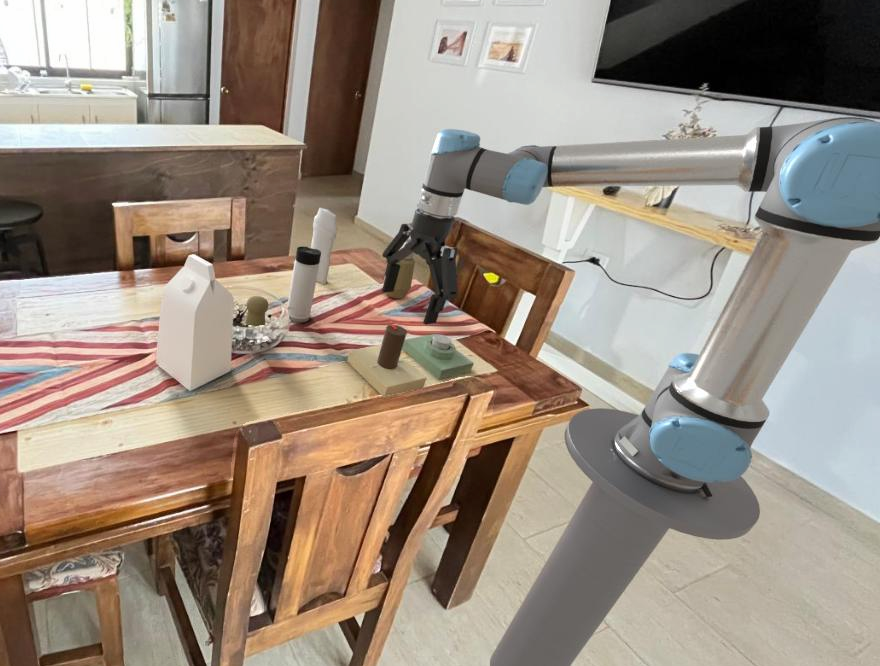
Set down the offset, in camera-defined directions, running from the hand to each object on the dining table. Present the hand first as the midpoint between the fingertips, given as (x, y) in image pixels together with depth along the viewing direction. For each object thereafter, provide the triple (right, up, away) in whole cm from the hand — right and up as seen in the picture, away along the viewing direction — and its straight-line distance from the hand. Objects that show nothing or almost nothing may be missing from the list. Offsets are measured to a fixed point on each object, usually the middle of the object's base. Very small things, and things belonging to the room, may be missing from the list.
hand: (407, 306), depth 110 cm
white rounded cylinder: (-12, +7, +50) cm, 52 cm away
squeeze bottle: (+11, +2, +45) cm, 46 cm away
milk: (-46, -14, +3) cm, 48 cm away
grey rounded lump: (+12, -10, +13) cm, 21 cm away
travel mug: (-21, -4, +27) cm, 34 cm away
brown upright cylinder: (-3, -13, +6) cm, 15 cm away
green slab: (+12, -14, +15) cm, 24 cm away
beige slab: (-3, -16, +8) cm, 18 cm away
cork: (-33, -9, +16) cm, 37 cm away
